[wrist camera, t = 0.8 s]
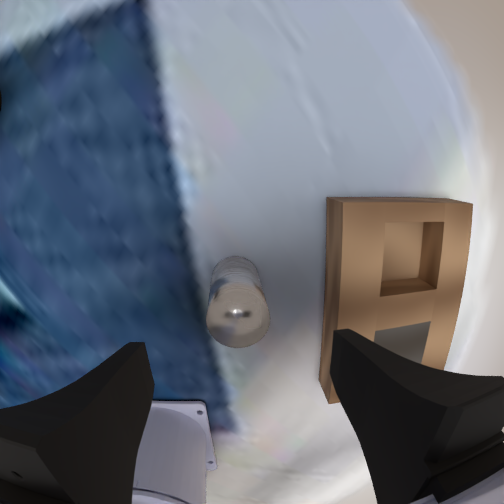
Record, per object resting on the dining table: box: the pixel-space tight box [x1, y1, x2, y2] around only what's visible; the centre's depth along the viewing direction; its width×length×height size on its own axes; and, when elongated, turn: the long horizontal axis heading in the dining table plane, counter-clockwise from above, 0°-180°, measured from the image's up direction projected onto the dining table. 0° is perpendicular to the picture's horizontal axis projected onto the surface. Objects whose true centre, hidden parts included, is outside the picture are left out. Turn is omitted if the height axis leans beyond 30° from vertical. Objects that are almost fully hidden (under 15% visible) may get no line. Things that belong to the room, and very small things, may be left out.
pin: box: [206, 256, 270, 348], centre depth 18 cm, size 3×3×6 cm
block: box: [319, 197, 473, 404], centre depth 20 cm, size 14×10×3 cm
